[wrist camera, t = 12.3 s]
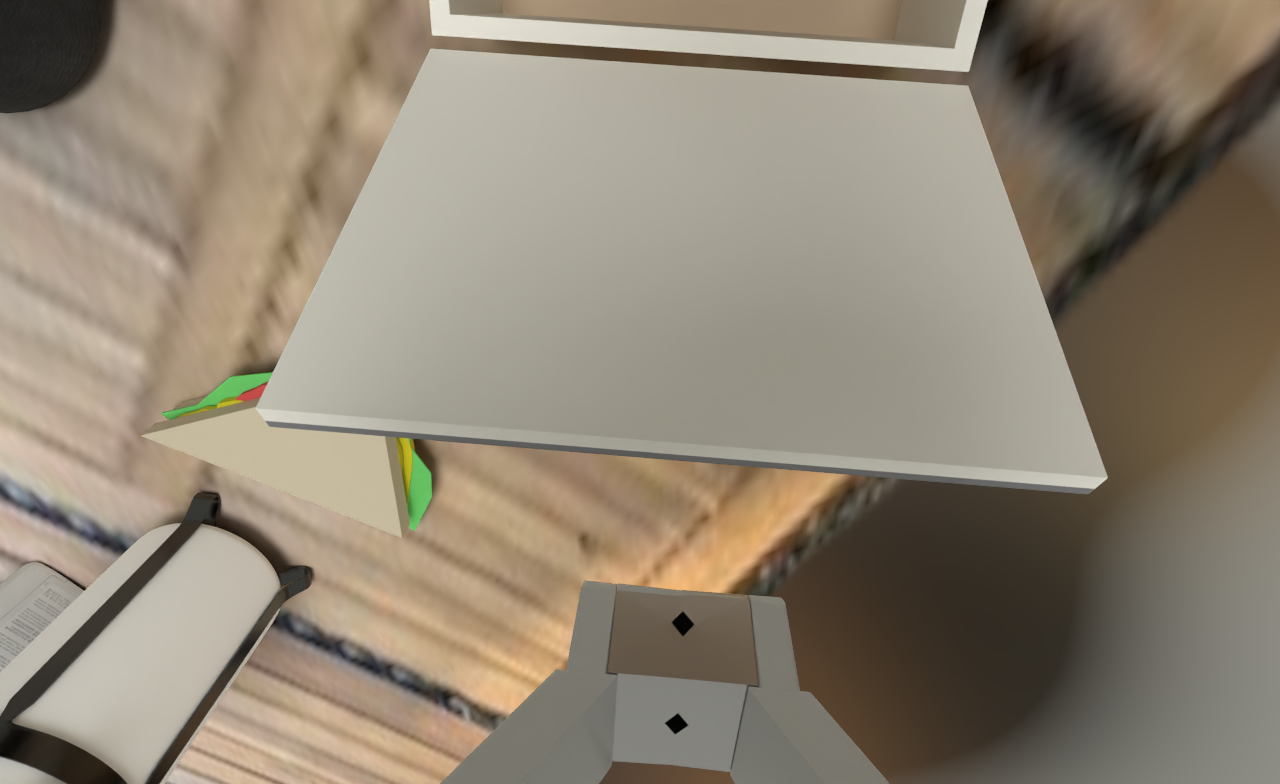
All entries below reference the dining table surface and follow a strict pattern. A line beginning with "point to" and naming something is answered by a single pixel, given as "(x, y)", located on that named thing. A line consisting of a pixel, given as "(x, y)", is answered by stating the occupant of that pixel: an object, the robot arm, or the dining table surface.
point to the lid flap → (690, 279)
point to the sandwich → (302, 457)
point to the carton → (736, 27)
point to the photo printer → (31, 606)
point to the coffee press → (140, 657)
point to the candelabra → (44, 49)
